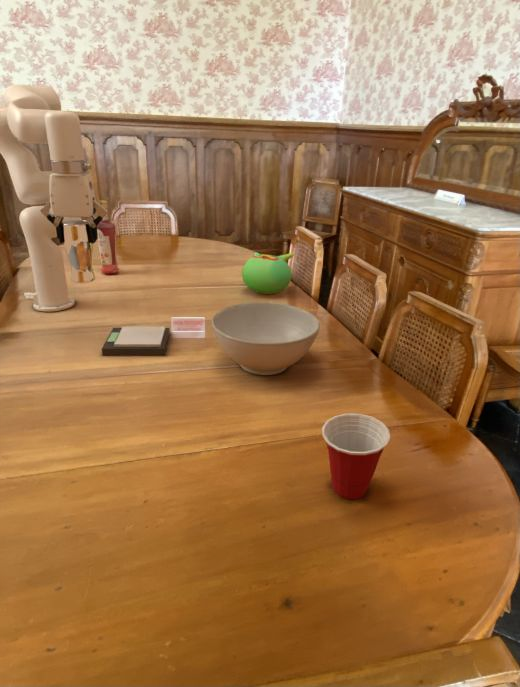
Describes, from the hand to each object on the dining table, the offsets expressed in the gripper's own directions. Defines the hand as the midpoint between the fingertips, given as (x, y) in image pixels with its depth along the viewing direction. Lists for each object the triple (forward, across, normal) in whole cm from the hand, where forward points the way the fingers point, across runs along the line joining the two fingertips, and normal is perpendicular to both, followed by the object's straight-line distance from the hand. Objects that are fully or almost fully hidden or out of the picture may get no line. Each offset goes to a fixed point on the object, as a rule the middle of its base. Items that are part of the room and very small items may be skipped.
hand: (78, 241), depth 120 cm
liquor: (+28, +9, -63) cm, 70 cm away
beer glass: (+10, 0, 0) cm, 10 cm away
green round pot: (+28, -52, -42) cm, 73 cm away
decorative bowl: (+27, -48, +15) cm, 57 cm away
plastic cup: (+27, -59, +61) cm, 89 cm away
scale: (+27, -14, +4) cm, 31 cm away
